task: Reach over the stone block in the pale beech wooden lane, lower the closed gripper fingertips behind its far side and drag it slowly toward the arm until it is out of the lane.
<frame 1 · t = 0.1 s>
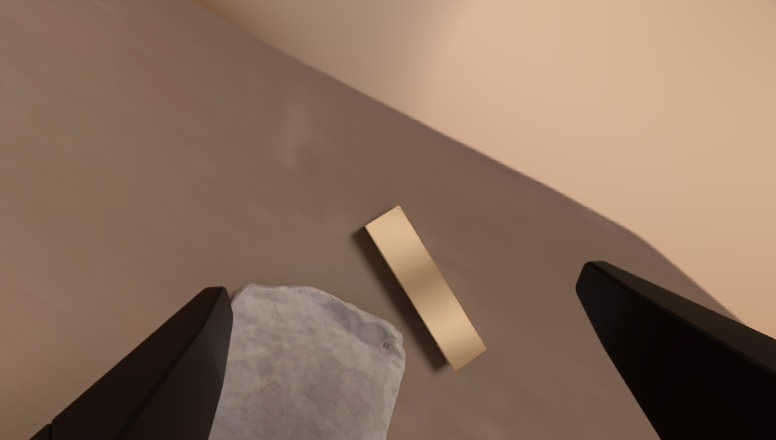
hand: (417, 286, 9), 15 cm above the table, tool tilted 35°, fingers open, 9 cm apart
stone block: (309, 358, 23), on the table
beech lane: (310, 358, 23), on the table
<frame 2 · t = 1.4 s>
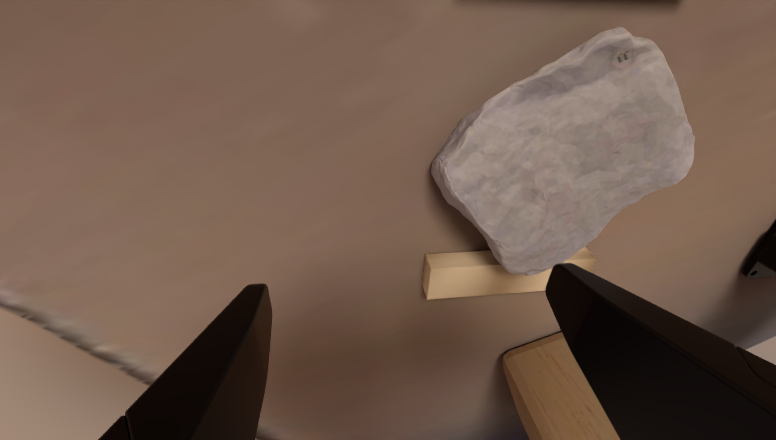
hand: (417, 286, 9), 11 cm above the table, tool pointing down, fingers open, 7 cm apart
stone block: (535, 143, 20), on the table
wooden block: (558, 360, 31), on the table
beech lane: (535, 138, 19), on the table
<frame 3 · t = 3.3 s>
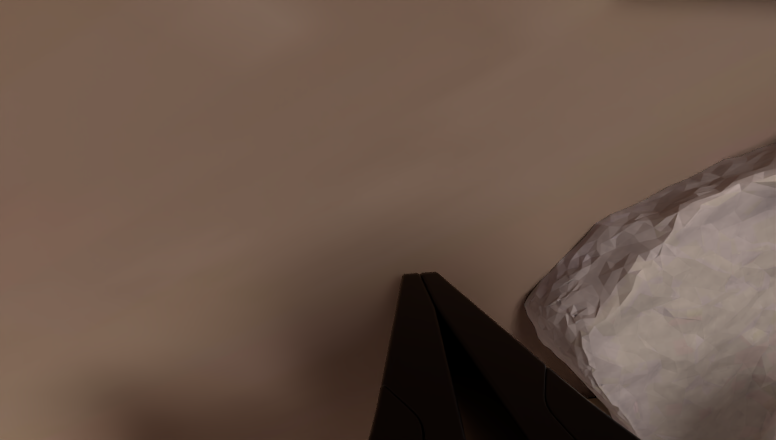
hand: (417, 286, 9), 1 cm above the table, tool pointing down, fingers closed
stone block: (703, 248, 11), on the table
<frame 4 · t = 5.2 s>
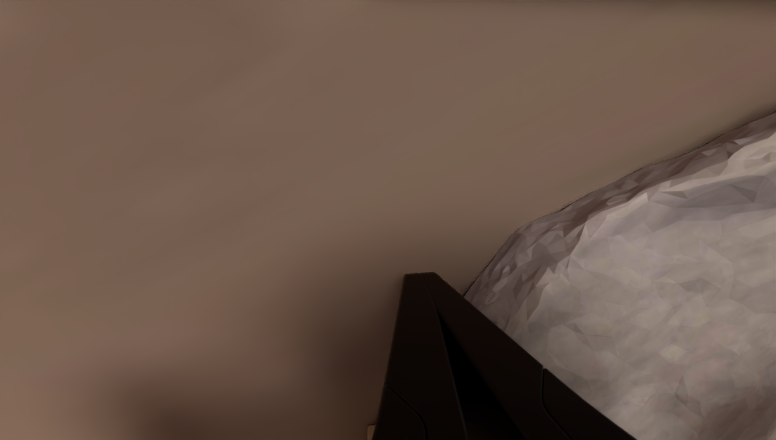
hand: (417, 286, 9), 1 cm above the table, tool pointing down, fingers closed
stone block: (646, 257, 11), on the table, touching gripper
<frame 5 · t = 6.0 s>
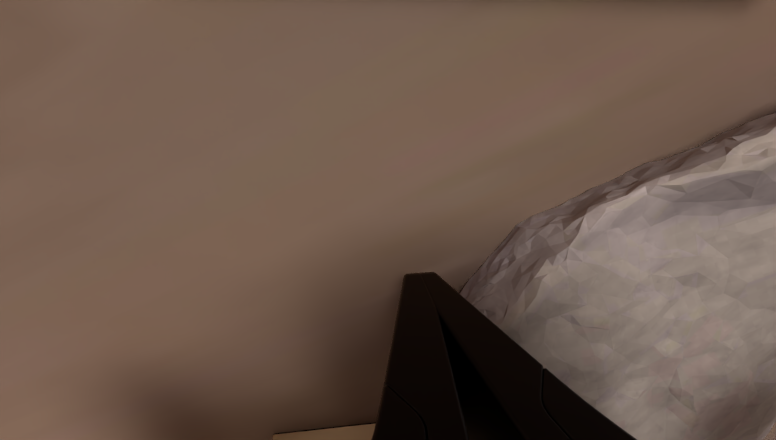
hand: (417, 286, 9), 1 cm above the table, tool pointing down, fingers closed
stone block: (642, 255, 11), on the table, touching gripper
beech lane: (444, 264, 10), on the table
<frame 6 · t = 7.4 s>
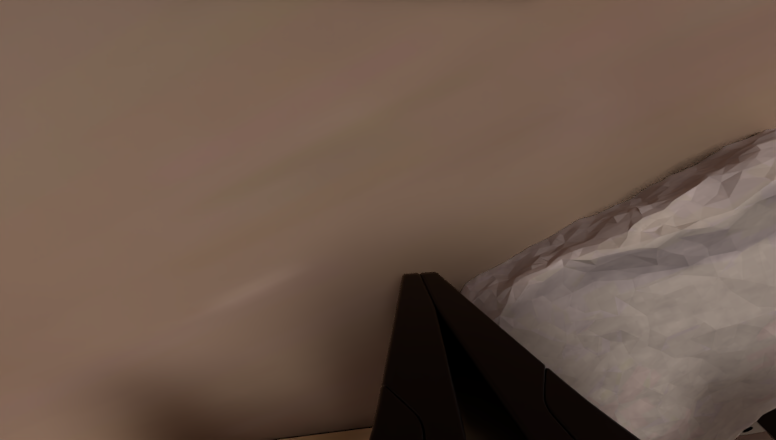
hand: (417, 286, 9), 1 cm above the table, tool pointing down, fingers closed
stone block: (597, 290, 12), on the table
beech lane: (264, 278, 9), on the table
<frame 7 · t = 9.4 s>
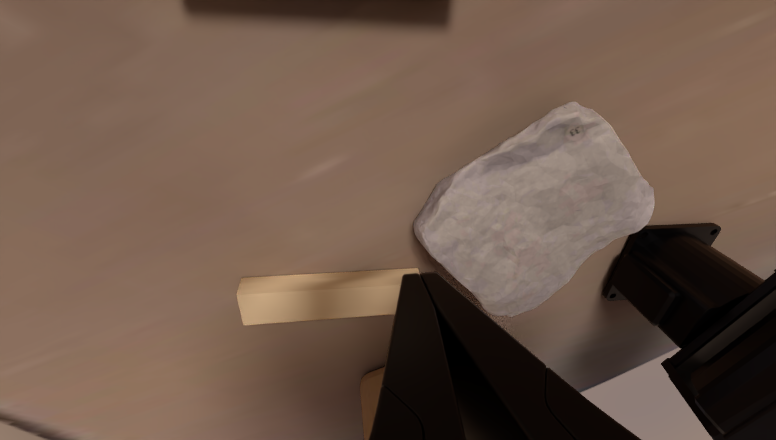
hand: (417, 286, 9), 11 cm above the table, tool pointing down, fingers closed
stone block: (509, 195, 22), on the table
wooden block: (430, 381, 30), on the table
beech lane: (328, 161, 18), on the table
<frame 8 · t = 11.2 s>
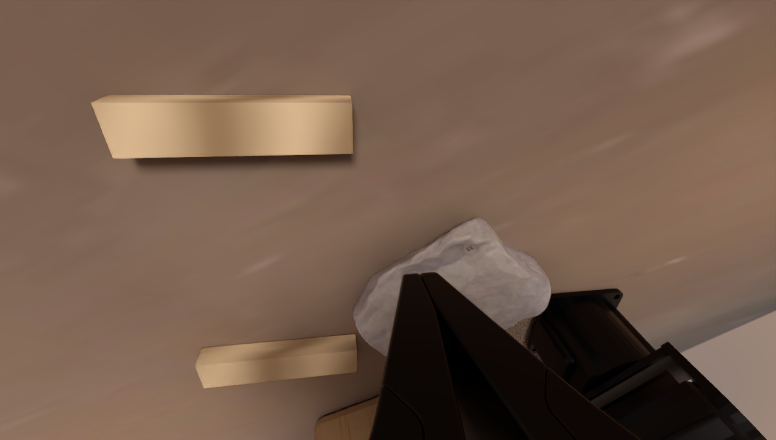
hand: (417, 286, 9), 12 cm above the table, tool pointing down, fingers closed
stone block: (437, 279, 26), on the table
wooden block: (382, 421, 34), on the table
beech lane: (266, 260, 22), on the table
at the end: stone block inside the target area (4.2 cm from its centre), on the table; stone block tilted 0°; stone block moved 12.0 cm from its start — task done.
